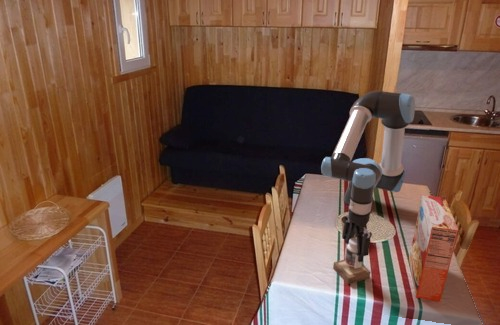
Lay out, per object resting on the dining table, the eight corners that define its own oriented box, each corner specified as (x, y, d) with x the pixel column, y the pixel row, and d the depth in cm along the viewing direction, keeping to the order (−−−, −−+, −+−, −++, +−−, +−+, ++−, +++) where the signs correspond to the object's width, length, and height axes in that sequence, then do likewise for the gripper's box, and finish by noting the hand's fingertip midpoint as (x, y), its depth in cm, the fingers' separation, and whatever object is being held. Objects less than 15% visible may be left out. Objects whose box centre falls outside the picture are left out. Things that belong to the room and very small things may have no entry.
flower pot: (360, 233, 177) (363, 217, 174) (359, 244, 169) (361, 228, 166) (339, 229, 180) (341, 213, 177) (337, 240, 172) (339, 224, 168)
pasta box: (408, 259, 160) (422, 194, 148) (429, 262, 158) (444, 197, 146) (416, 297, 140) (432, 226, 128) (440, 301, 138) (458, 230, 126)
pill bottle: (343, 258, 152) (345, 237, 148) (357, 257, 153) (360, 236, 149) (347, 267, 147) (350, 245, 143) (362, 267, 147) (365, 245, 143)
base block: (333, 268, 154) (333, 262, 153) (354, 262, 158) (354, 256, 157) (347, 284, 146) (348, 277, 145) (369, 277, 149) (370, 271, 148)
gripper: (336, 200, 147) (330, 250, 156) (367, 225, 131) (359, 279, 140) (352, 196, 150) (346, 246, 159) (385, 220, 134) (376, 274, 143)
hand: (352, 262), depth 150 cm, fingers closed on pill bottle, 6 cm apart
